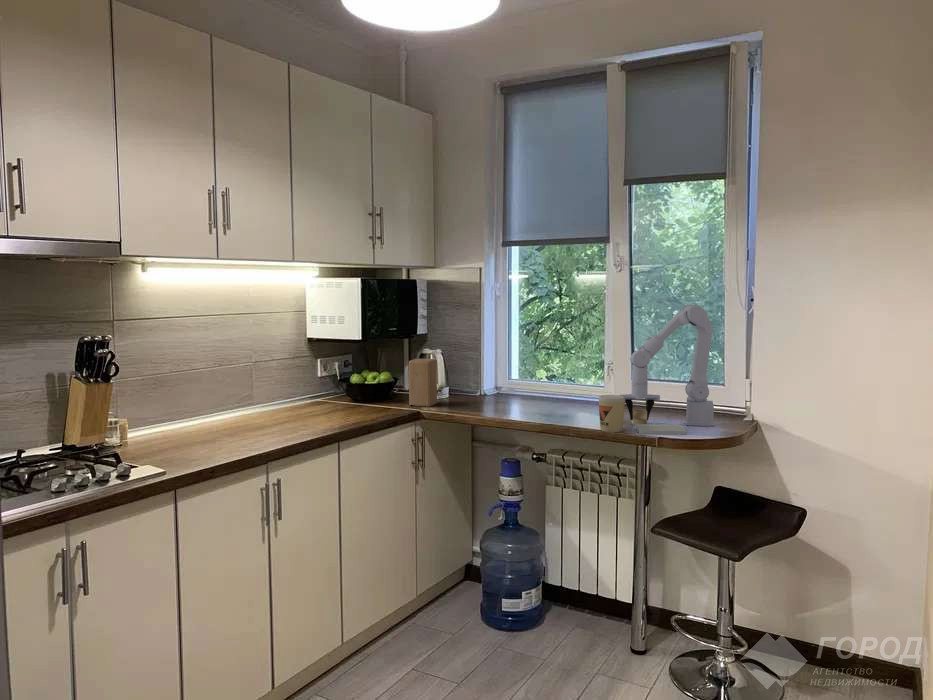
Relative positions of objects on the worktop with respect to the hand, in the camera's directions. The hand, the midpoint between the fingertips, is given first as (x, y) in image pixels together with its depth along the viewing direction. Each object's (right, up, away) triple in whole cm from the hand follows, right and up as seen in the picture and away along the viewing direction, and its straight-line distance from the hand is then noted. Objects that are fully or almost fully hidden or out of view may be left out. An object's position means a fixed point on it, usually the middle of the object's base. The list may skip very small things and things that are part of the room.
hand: (639, 419), depth 267 cm
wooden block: (-83, +2, +47) cm, 95 cm away
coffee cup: (-12, -3, -10) cm, 16 cm away
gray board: (+4, -3, -12) cm, 14 cm away
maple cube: (0, -1, 0) cm, 1 cm away
